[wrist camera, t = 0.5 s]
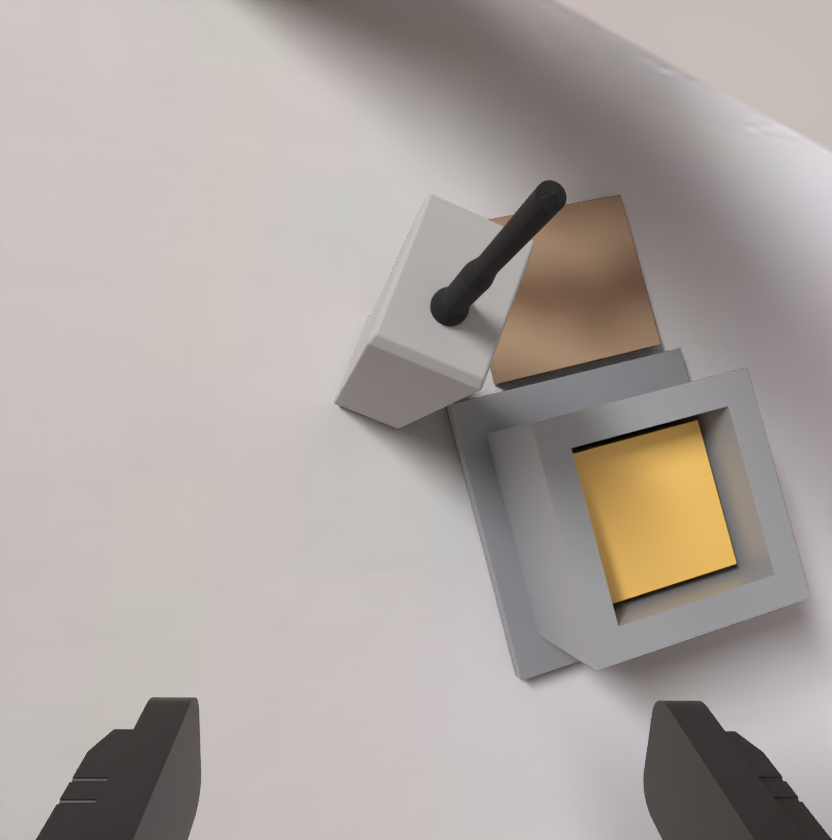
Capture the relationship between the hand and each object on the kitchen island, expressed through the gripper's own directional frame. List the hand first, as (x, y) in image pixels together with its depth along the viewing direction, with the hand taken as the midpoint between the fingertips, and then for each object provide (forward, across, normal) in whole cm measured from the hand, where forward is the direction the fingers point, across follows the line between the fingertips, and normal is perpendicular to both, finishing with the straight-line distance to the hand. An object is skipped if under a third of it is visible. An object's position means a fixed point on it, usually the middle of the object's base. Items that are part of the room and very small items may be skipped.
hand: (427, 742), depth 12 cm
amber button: (+23, -12, +4) cm, 26 cm away
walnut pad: (+29, -9, -7) cm, 31 cm away
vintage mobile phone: (+26, +1, -2) cm, 26 cm away
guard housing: (+25, -12, +5) cm, 28 cm away
